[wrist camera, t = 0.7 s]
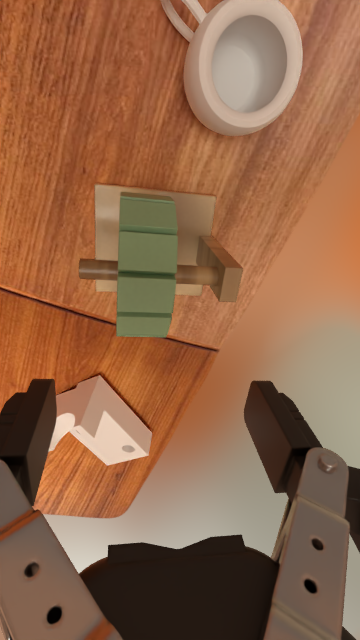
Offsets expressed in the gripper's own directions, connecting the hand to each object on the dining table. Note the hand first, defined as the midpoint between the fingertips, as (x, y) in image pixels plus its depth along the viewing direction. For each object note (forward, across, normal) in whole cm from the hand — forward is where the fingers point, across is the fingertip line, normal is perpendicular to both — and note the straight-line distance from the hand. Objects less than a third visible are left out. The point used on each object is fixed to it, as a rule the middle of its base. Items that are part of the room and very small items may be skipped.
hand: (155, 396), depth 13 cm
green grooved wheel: (+16, 0, 0) cm, 16 cm away
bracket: (+25, +4, +25) cm, 36 cm away
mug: (+25, -5, -16) cm, 30 cm away
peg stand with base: (+25, -1, 0) cm, 25 cm away
